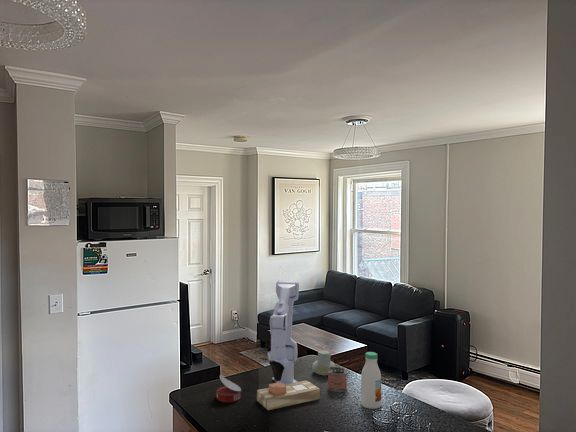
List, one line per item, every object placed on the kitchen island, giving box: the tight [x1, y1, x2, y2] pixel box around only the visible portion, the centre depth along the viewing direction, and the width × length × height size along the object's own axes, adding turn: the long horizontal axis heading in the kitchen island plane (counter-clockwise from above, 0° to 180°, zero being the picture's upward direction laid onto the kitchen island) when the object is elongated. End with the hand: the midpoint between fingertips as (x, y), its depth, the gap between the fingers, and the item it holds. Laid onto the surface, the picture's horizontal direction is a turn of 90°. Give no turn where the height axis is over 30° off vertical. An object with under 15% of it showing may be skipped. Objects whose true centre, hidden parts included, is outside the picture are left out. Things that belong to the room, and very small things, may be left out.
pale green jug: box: [311, 349, 337, 377], centre depth 198 cm, size 11×8×10 cm
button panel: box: [256, 379, 321, 411], centre depth 168 cm, size 10×23×4 cm, turn 119°
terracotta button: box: [268, 382, 286, 396], centre depth 165 cm, size 5×5×3 cm
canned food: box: [216, 374, 242, 403], centre depth 169 cm, size 11×10×10 cm
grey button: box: [291, 384, 308, 391], centre depth 170 cm, size 5×5×3 cm
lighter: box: [327, 365, 348, 393], centre depth 178 cm, size 8×3×10 cm, turn 84°
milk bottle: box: [360, 351, 382, 410], centre depth 164 cm, size 8×8×20 cm
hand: (277, 380), depth 165 cm, fingers closed
